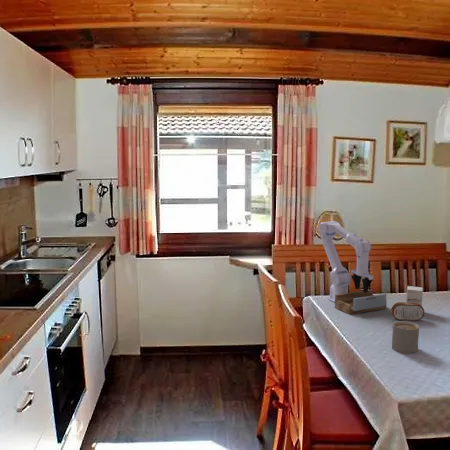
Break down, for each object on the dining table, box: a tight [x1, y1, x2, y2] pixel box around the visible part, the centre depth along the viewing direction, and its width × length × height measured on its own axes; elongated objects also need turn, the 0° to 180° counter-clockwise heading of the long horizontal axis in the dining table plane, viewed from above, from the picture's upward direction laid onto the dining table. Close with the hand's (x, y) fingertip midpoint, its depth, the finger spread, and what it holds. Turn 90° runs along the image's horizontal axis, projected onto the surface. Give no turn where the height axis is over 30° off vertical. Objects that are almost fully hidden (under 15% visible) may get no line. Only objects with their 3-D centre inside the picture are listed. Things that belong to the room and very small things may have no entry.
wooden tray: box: [334, 289, 387, 315], centre depth 257 cm, size 12×24×7 cm, turn 115°
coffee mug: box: [391, 320, 420, 355], centre depth 204 cm, size 13×10×10 cm
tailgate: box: [353, 293, 387, 311], centre depth 250 cm, size 2×20×6 cm, turn 115°
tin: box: [390, 301, 425, 322], centre depth 238 cm, size 15×3×8 cm, turn 84°
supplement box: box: [405, 285, 424, 307], centre depth 249 cm, size 7×7×13 cm
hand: (361, 290), depth 256 cm, fingers open, 6 cm apart
